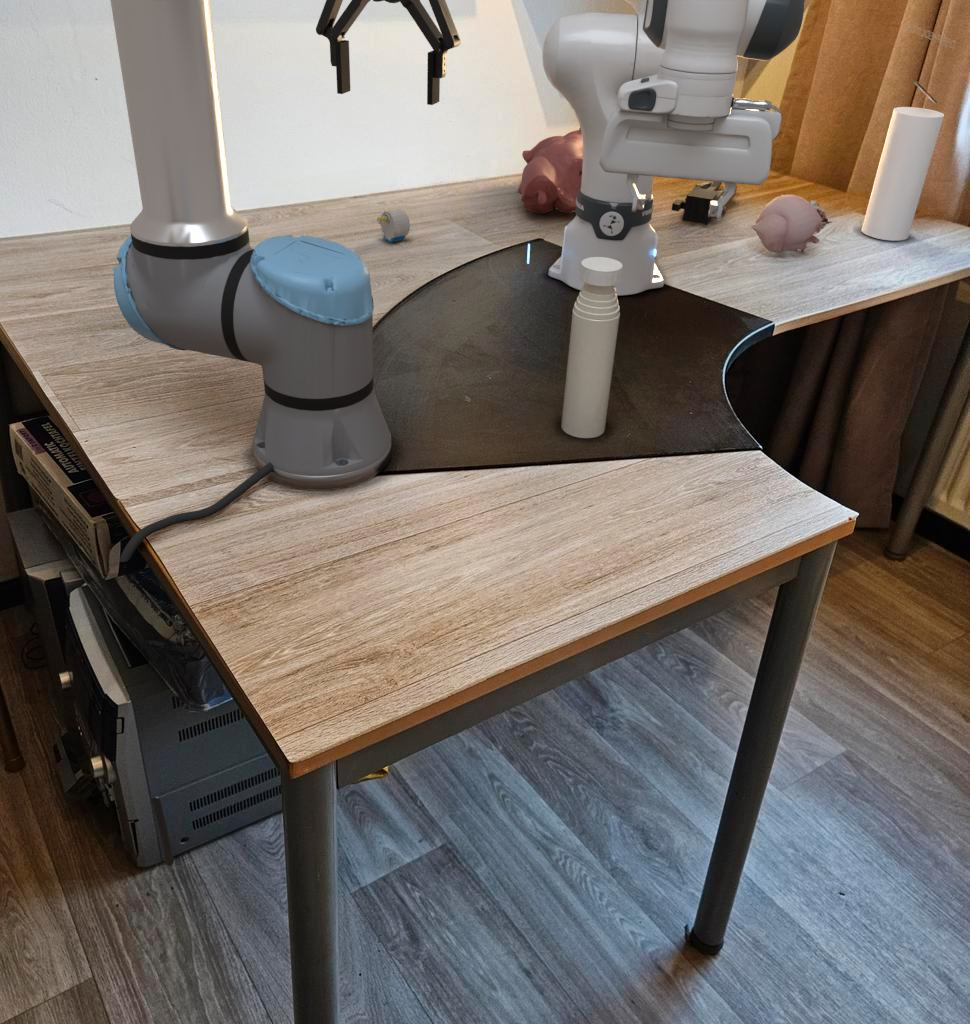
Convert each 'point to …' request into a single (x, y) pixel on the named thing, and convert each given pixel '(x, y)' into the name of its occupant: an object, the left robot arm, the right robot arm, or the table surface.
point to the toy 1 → (699, 202)
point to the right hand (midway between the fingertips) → (675, 214)
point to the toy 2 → (789, 223)
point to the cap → (601, 271)
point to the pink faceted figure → (553, 174)
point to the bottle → (590, 361)
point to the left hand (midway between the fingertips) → (388, 97)
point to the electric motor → (394, 225)
